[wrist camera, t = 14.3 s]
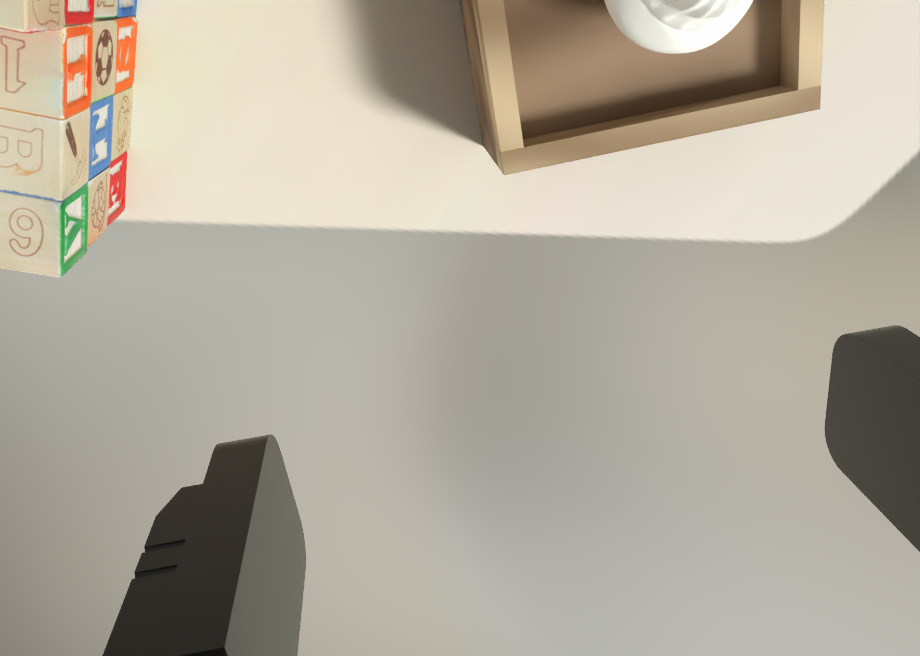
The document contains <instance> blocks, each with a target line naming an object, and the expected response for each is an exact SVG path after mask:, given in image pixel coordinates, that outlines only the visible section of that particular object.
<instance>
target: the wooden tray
mask: <svg viewBox="0 0 920 656" xmlns="http://www.w3.org/2000/svg"><path fill="white" fill-rule="evenodd" d="M460 6H461V12H462V18H463V24H464V30H465V36H466V43H467V49H468V55H469V61H470V67H471V73H472V79H473V85H474V91H475V97H476V104H477V110H478V116H479V122H480V128H481V134H482V140H483V146H484V148H485V149H486V150H487V152H488V153H489V155H490V156H491V157H492V159H493V160H494V162H495V163H496V164H497V166H498V167H499V169H500V170H501V171H502V173H503V174H504V175H508V174H512V173H517V172H522V171H527V170H532V169H536V168H541V167H546V166H551V165H555V164H560V163H565V162H570V161H574V160H579V159H584V158H589V157H594V156H598V155H603V154H608V153H613V152H617V151H622V150H627V149H632V148H636V147H641V146H646V145H651V144H656V143H660V142H665V141H670V140H675V139H679V138H684V137H689V136H694V135H699V134H703V133H708V132H713V131H718V130H722V129H727V128H732V127H737V126H741V125H746V124H751V123H756V122H761V121H765V120H770V119H775V118H780V117H784V116H789V115H794V114H799V113H803V112H808V111H813V110H818V109H820V94H821V69H822V44H823V19H824V0H753V2H752V4H751V5H750V7H749V9H748V10H747V12H746V13H745V15H744V16H743V17H742V19H741V20H740V21H739V22H738V24H737V25H736V26H735V27H734V28H733V29H732V30H731V31H730V32H729V33H728V34H726V35H725V36H724V37H723V38H721V39H720V40H719V41H717V42H716V43H714V44H712V45H710V46H708V47H706V48H704V49H701V50H698V51H694V52H690V53H681V54H669V53H660V52H655V51H651V50H648V49H646V48H643V47H641V46H639V45H637V44H636V43H634V42H633V41H631V40H630V39H628V38H627V37H626V36H625V35H624V34H623V33H622V32H621V31H620V30H619V28H618V27H617V26H616V24H615V23H614V21H613V19H612V18H611V16H610V14H609V12H608V9H607V7H606V4H605V1H604V0H460Z"/></svg>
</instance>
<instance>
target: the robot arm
mask: <svg viewBox="0 0 920 656" xmlns="http://www.w3.org/2000/svg"><path fill="white" fill-rule="evenodd" d="M825 437H826V442H827V446H828V448H829V452H830V454H831V456H832V458H833V460H834V462H835V463H836V465H837V466H838V468H839V469H840V470H841V471H842V472H843V473H844V474H845V475H846V476H847V477H848V478H849V479H850V480H851V481H852V482H853V483H854V484H855V485H856V486H857V487H858V489H859V490H860V491H861V492H862V493H863V494H864V495H865V496H866V497H867V498H868V499H869V500H870V501H871V502H872V503H873V504H874V505H875V506H876V507H877V508H878V509H879V510H880V511H881V512H882V513H883V514H884V515H885V516H886V517H887V518H888V519H889V521H890V522H891V523H892V524H893V525H894V526H895V527H896V528H897V529H898V530H899V531H900V532H901V533H902V534H903V535H904V536H905V537H906V538H907V539H908V540H909V541H910V542H911V543H912V544H913V545H914V546H915V547H916V548H917V549H918V550H919V551H920V337H918V336H917V335H915V334H914V333H912V332H911V331H909V330H908V329H906V328H904V327H901V326H889V327H883V328H878V329H872V330H866V331H861V332H855V333H849V334H845V335H842V336H840V337H839V338H838V340H837V341H836V343H835V345H834V349H833V355H832V364H831V373H830V383H829V392H828V401H827V410H826V419H825ZM305 568H306V552H305V541H304V534H303V528H302V524H301V520H300V516H299V513H298V509H297V506H296V503H295V500H294V496H293V493H292V489H291V486H290V482H289V479H288V476H287V472H286V469H285V466H284V462H283V458H282V455H281V452H280V449H279V446H278V443H277V441H276V439H275V437H274V436H273V435H266V436H260V437H255V438H249V439H243V440H237V441H232V442H226V443H220V444H217V445H216V446H215V448H214V451H213V454H212V457H211V460H210V463H209V466H208V470H207V473H206V476H205V479H204V482H203V484H200V485H194V486H189V487H183V488H181V489H180V490H179V491H178V492H177V493H176V495H175V496H174V497H173V498H172V499H171V500H170V501H169V503H168V504H167V505H166V506H165V507H164V508H163V509H162V510H161V511H160V512H159V514H158V515H157V516H156V518H155V520H154V523H153V526H152V528H151V531H150V534H149V536H148V539H147V541H146V544H145V553H142V554H141V557H140V559H139V562H138V565H137V567H136V570H135V579H132V581H131V583H130V586H129V588H128V591H127V594H126V596H125V599H124V602H123V604H122V607H121V609H120V612H119V614H118V617H117V620H116V622H115V625H114V627H113V630H112V633H111V635H110V638H109V640H108V643H107V646H106V648H105V651H104V654H103V656H297V651H298V640H299V631H300V620H301V611H302V599H303V590H304V579H305Z"/></svg>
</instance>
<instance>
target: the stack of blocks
mask: <svg viewBox="0 0 920 656" xmlns="http://www.w3.org/2000/svg"><path fill="white" fill-rule="evenodd" d="M136 7H137V0H0V268H1V269H8V270H14V271H21V272H28V273H32V274H40V275H46V276H52V277H61V276H63V275H64V274H65V273H66V272H67V271H68V270H69V269H70V268H71V267H72V266H73V265H74V264H75V263H76V262H78V260H79V259H80V258H82V256H83V255H84V254H85V253H86V251H87V247H88V246H90V245H91V244H92V243H93V242H94V241H95V240H96V239H97V238H98V237H99V236H100V235H101V234H102V233H103V232H104V231H105V230H106V228H107V226H108V225H109V224H111V223H112V222H113V221H114V220H115V219H116V218H117V217H118V216H119V215H120V214H121V213H122V212H123V211H124V210H125V189H126V168H127V151H126V150H127V149H128V148H129V146H130V131H131V114H132V96H133V89H132V85H133V81H134V69H135V53H136V37H137V18H136V15H135V14H136Z"/></svg>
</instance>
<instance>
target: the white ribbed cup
mask: <svg viewBox="0 0 920 656" xmlns="http://www.w3.org/2000/svg"><path fill="white" fill-rule="evenodd" d="M604 1H605V4H606V7H607V9H608V12H609V14H610V16H611V18H612V19H613V21H614V23H615V24H616V26H617V27H618V28H619V30H620V31H621V32H622V33H623V34H624V35H625V36H626V37H627V38H628V39H630V40H631V41H633V42H634V43H636V44H637V45H639V46H641V47H643V48H646V49H648V50H651V51H655V52H660V53H669V54H681V53H690V52H694V51H698V50H701V49H704V48H706V47H708V46H710V45H712V44H714V43H716V42H717V41H719V40H720V39H721V38H723V37H724V36H725V35H726V34H728V33H729V32H730V31H731V30H732V29H733V28H734V27H735V26H736V25H737V24H738V22H739V21H740V20H741V19H742V17H743V16H744V15H745V13H746V12H747V10H748V9H749V7H750V5H751V4H752V2H753V0H604Z"/></svg>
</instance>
